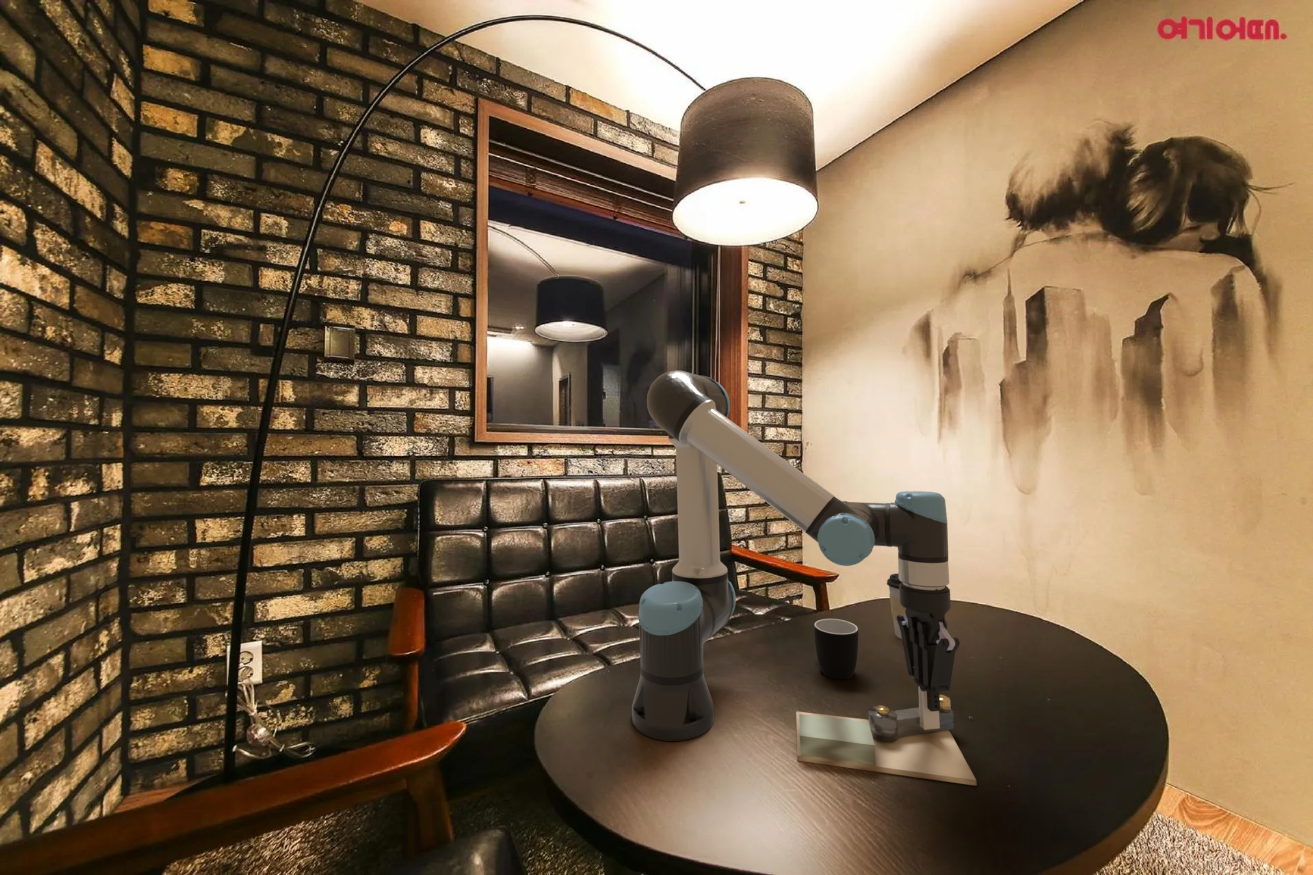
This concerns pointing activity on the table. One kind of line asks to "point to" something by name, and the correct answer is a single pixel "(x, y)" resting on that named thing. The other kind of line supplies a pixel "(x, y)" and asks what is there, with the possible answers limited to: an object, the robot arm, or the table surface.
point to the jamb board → (879, 749)
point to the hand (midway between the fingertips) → (929, 726)
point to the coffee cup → (895, 601)
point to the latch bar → (905, 721)
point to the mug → (836, 647)
